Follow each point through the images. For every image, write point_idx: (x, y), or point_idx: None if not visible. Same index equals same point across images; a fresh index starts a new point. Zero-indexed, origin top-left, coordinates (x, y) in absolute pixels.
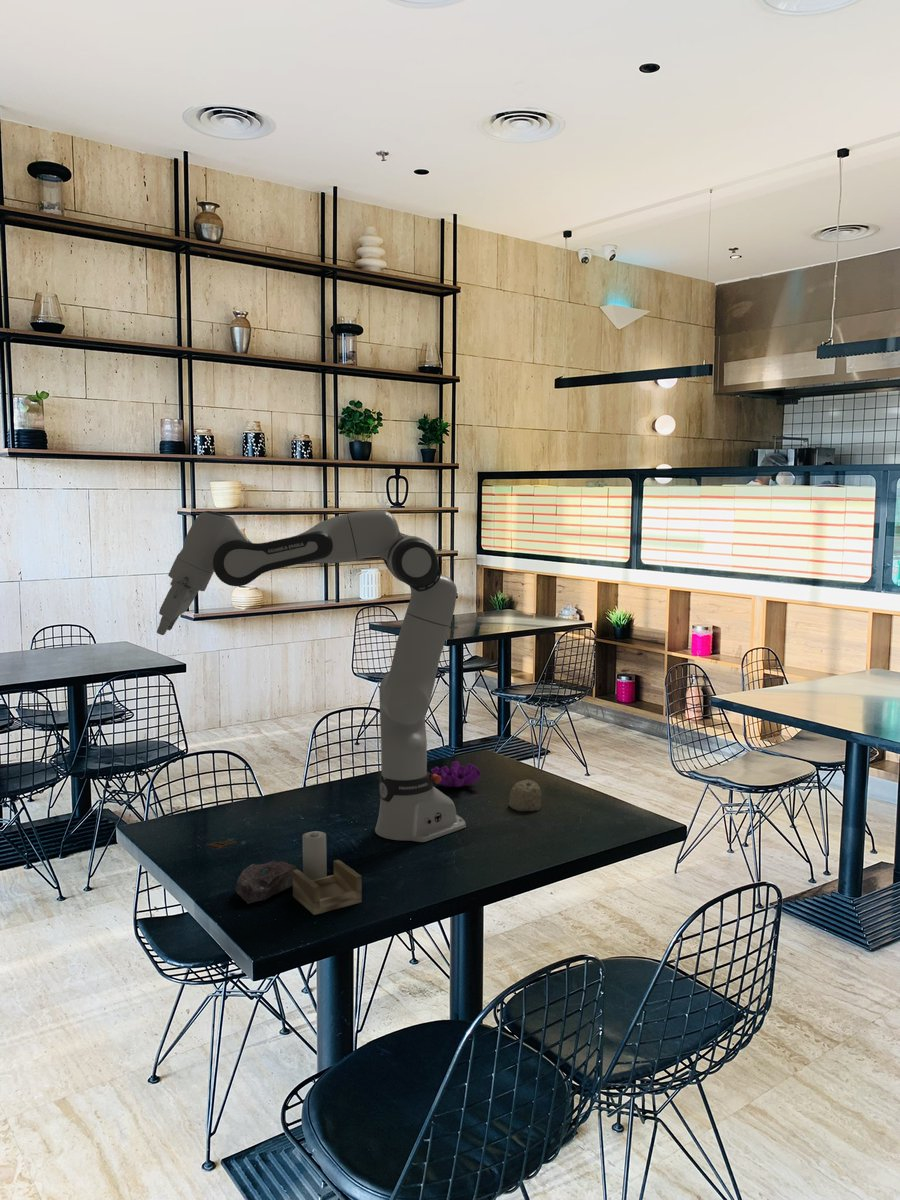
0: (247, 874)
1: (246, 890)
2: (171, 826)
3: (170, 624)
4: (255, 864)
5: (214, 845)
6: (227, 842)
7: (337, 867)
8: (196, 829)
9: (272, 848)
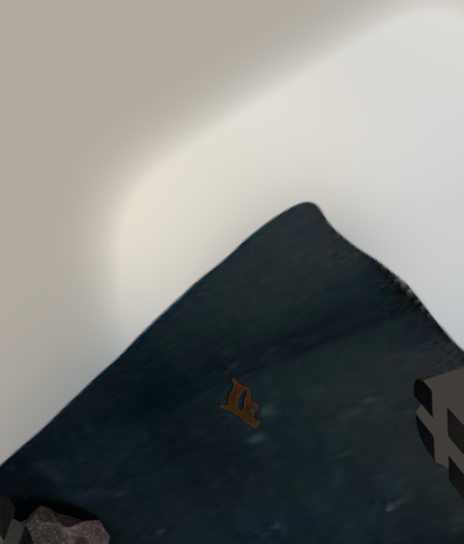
0: (40, 534)
1: None
2: (316, 280)
3: (462, 472)
4: (76, 536)
5: (233, 394)
6: (250, 411)
7: None
8: (307, 331)
9: (234, 498)
